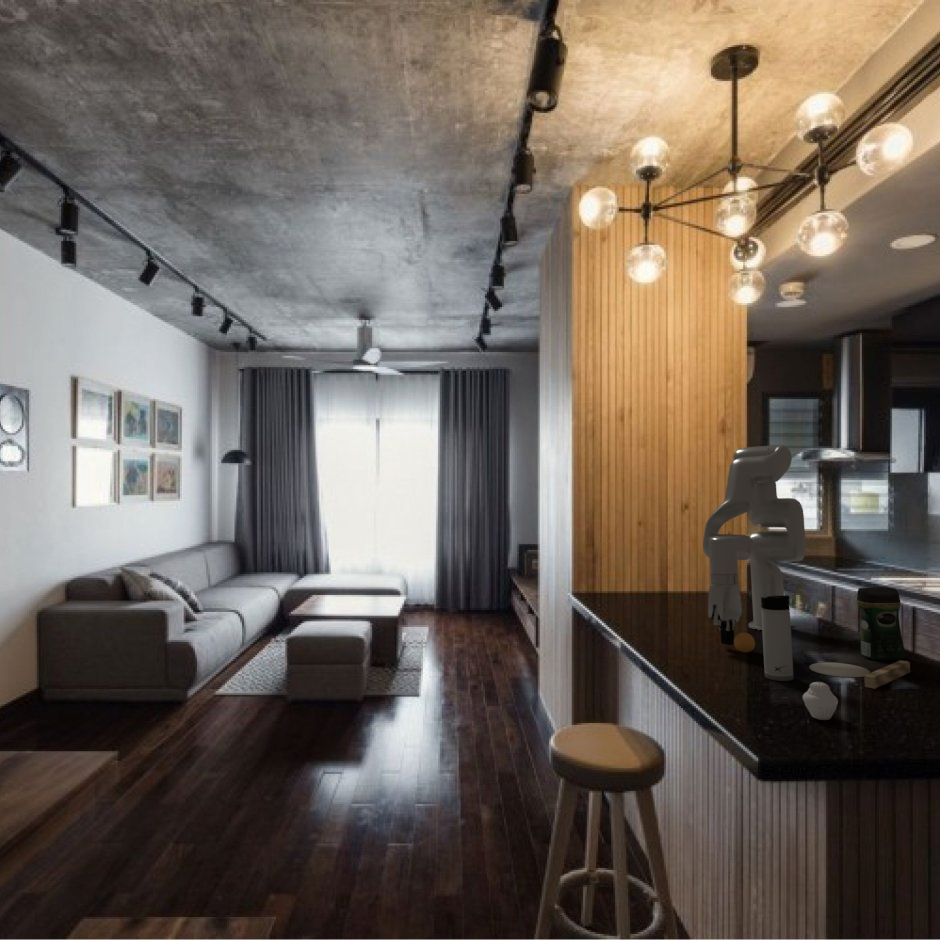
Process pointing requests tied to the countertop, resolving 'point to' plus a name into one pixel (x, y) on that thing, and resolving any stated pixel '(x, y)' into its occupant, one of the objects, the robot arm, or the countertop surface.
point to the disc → (839, 669)
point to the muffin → (820, 701)
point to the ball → (744, 642)
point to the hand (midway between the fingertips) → (727, 643)
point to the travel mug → (777, 638)
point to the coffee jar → (880, 623)
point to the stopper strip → (887, 674)
